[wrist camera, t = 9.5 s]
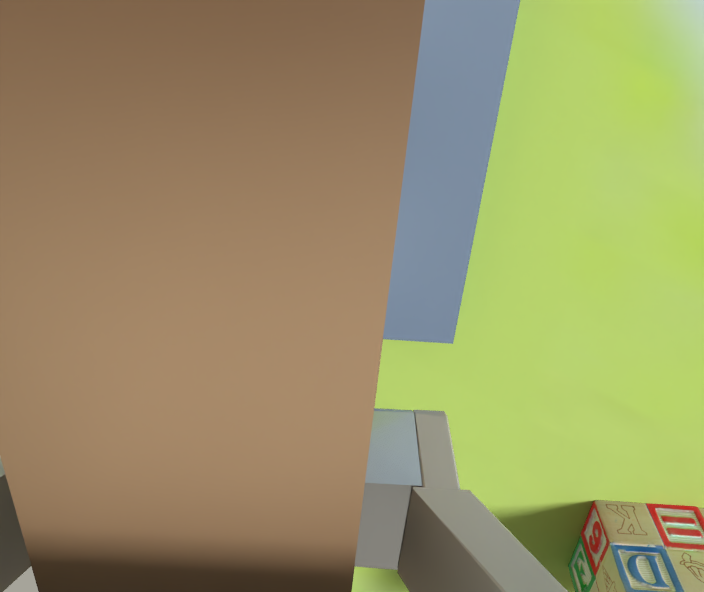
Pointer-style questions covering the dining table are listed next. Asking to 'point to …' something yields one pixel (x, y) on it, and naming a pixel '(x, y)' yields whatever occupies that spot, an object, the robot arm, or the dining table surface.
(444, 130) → the board
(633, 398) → the dining table surface
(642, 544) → the stack of blocks
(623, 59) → the dining table surface
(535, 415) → the dining table surface
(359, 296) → the walnut beam
